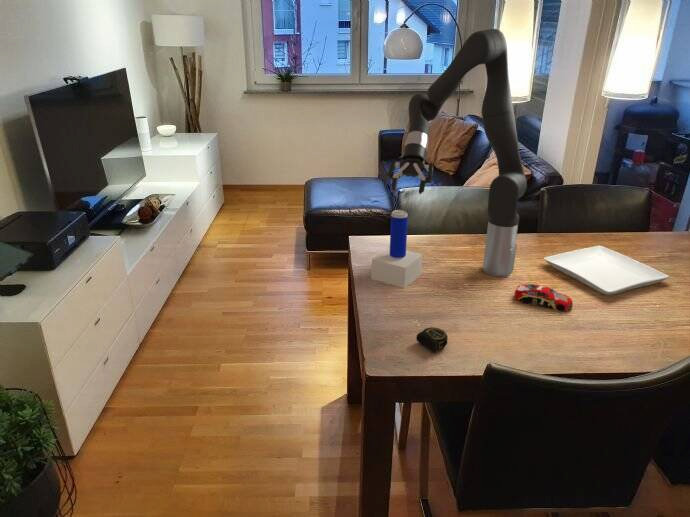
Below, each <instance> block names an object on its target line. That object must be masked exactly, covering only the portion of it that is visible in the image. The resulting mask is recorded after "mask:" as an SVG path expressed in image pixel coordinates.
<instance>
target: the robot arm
mask: <svg viewBox="0 0 690 517" xmlns="http://www.w3.org/2000/svg"><path fill="white" fill-rule="evenodd" d="M506 40H507V39H506V37H505V35H504V33H503V32H502V31H501V30H500V29H497V28H491V29H490V28H489V29H483V30H478V31H474V32H473V33H471V34H470V35H469V36H468V37H467V38H466V40H465V41H464V43H463V44H462V46H461V47H460V49H459V51H458V52H457V53H456V54H455V56H454V58H453V59H452V61H451V63H450V64H449V65H448V66H447V67H446V69H445V70H444V71H443V72H442V73H441V74H440V76H438V78H437V79H436V80H435V81H434V82H433V83H432V84H431V85H430V86H429V88H427V92H426V94H427V95H424V94H422V93H416V94H414V95H413V96H411V98H410V100H409V102H408V109H407V110H408V119H409V128H408V132H407V136H406V139H405V144H404V147H403V153H402V157H401V160H400V162H397V161H395V160H393V159H392V160H391V162H390V166H389V170H388V173H387V175H388V179H389V180H392V181H391V190H392V191H393V192H397V187H398V181H399V180H400V179H401V178H402V179H403V178H404V177H412V178H416V177H418V179H419V181H420V183H419V187H418V194H420V195H422V193H424V191H425V186H426V184H427V183H428V184H432V183H433V175H434V174H433V172H434V164H433V163H432V162H431V163H429V164H425V162H426V157H427V152H428V149H429V148H428V146H429V138H430V133H431V132H430V131H431V123H430V121H433V120H435V119H436V118H437V117H438V115H439V113H440V111H441V109H442V107H443V105H444V104H445V103H446V102H447V101H448V99H449V98H450V97H451V96H453V95H454V94H455V93H456V91H457V90H458V89H459V87H460V85H461V84H462V80H463V79H464V77H465V76H466V75H467V74H468V73H469V72H470V71H472V70H473V69H474V68H476V67H478V66H479V65H480V66H481V65H484V67H485V70H486V72H485V73H486V78H487V79H486V80H487V81H486V83H487V84H486V88H485V93H484V97H483V101H482V105H481V118H482V125H483V131H484V133H485V134H484V135H485V136H486V139H487V141H488V143H489V144H490V147H491V148H492V150H493V152H494V154H495V157H496V161H497V167H498V168H497V169H498V176H496V177H494V178H493V180H492V181H491V183H490V185H489V190H488V197H487V198H488V201H487V214H488V222H487V230H486V239H485V246H484V256H483V262H482V263H483V264H482V271H483V272H484V273H486V274H487V275H490V276H495V277H505V278H509V276H511V273H513V271H514V268H515V261H516V260H515V259H516V254H517V248H518V245H517V243H516V242H517V234H518V229H519V228H518V227H519V223H520V222H519V221H520V215H519V214H518V213H517V211H518V209H517V208H518V203H519V199H520V198H522V197H523V196H524V194H525V193H526V190H527V187H528V186H527V185H528V184H527V178H526V174H525V170H524V166H523V163H522V159H521V154H520V149H519V148H520V147H519V139H518V133H517V126H516V117H515V111H514V107H513V101H512V92H511V85H510V77H509V61H508V59H509V58H508V45H507V41H506ZM398 167H399V169H398ZM397 169H398V170H397ZM425 169H426V171H427V177H425V175H424V173H423V171H424V170H425ZM396 170H397V172H396Z"/></svg>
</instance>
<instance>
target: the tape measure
mask: <svg viewBox="0 0 690 517" xmlns="http://www.w3.org/2000/svg"><path fill="white" fill-rule="evenodd" d="M415 338H416V341H417V342H418V343H419V344H420V345H421V346H424V347H426V348H427V349H428V350H430V351H431V352H432V353H437V352H438V351H440V350H443V349H444V348H445V347H446V346H447V345H448V334H447V332H446V331H445V330H443V329H442V328H438V327H432V326H431V327H426V328H425V329H423V330H422V331H421V332H419V333H417V334H416V337H415Z"/></svg>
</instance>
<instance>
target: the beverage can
mask: <svg viewBox="0 0 690 517" xmlns="http://www.w3.org/2000/svg"><path fill="white" fill-rule="evenodd" d="M408 217H409V216H408V212H407V211H406V210H403V209H395V210H393V211H392V212H391V214H390V232H389V233H390V236H389V238H390V239H389V247H390V256H391V257H392V258H393V259H403V258H404V257H405V256H406V251H407V239H408V237H407V236H408V222H409V221H408V219H409V218H408Z"/></svg>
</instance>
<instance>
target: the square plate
mask: <svg viewBox="0 0 690 517" xmlns="http://www.w3.org/2000/svg"><path fill="white" fill-rule="evenodd" d="M543 260H544V261H545V262H546V263H547V264H548V265H550V266H551V267H552V268H554V269H556V270H558V271H560V272H562V273H563V274H566V275H567V276H569V277H571V278H573V279H575V280H577V281H578V282H580V283H583V284H584V285H585V286H588V287H590V288H591V289H593V290H595V291H598V292H599V293H601V294H604V295H605V296H610V295H615V294H618V293H621V292H625V291H628V290H633V289H637V288H640V287H642V288H643V287H646V286H651V285H654V284H658V283H660V282H664V281H666V280H668V279H669V278H670V276H669V275H668V274H665V273H664V272H661V271H659V270H657V269H655V268H653V267H651V266H649V265H647V264H644V263H642V262H641V261H637V260H635V259H633V258H632V257H630V256H627V255H625V254H623V253H619V252H617V251H616V250H612V249H611V248H607V247H605V246H602V245H594V246H590V247H585V248H580V249H575V250H569V251H567V252H562V253H558V254H554V255H550V256H545V257H543Z"/></svg>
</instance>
